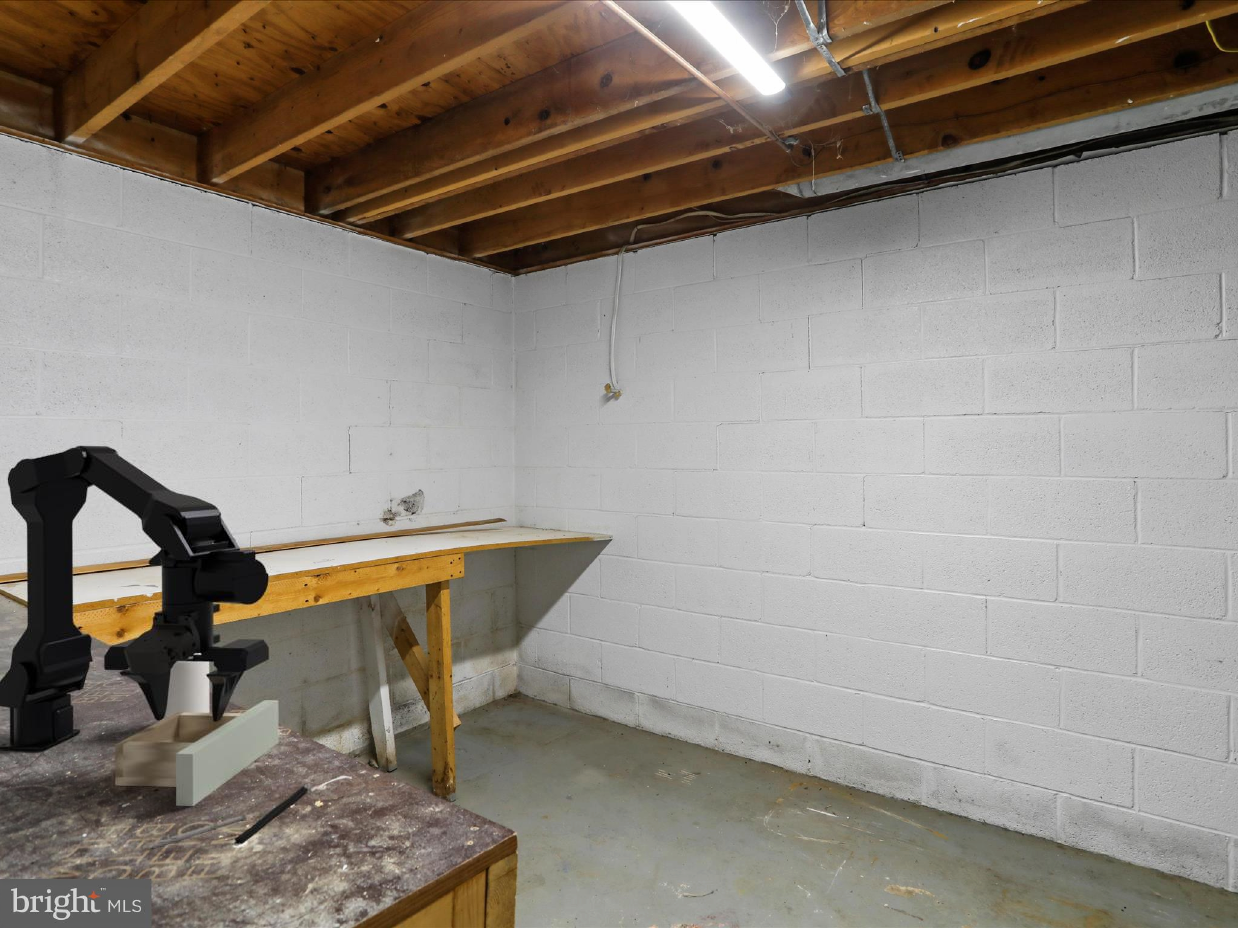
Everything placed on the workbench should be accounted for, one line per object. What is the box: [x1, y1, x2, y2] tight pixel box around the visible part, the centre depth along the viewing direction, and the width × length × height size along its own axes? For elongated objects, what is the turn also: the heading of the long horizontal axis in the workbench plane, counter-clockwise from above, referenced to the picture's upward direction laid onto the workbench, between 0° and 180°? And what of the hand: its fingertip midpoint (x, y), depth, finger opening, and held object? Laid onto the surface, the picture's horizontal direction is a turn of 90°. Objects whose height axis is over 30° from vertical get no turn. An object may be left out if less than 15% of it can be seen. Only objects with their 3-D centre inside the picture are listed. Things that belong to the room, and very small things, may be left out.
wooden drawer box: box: [114, 712, 244, 788], centre depth 90 cm, size 11×11×5 cm
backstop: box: [175, 699, 280, 807], centre depth 89 cm, size 2×18×6 cm, turn 177°
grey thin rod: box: [152, 811, 248, 849], centre depth 74 cm, size 1×9×1 cm, turn 133°
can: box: [157, 653, 210, 723], centre depth 104 cm, size 6×6×12 cm
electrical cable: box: [234, 784, 312, 845], centre depth 78 cm, size 12×1×1 cm, turn 171°
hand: (188, 720), depth 90 cm, fingers open, 7 cm apart
